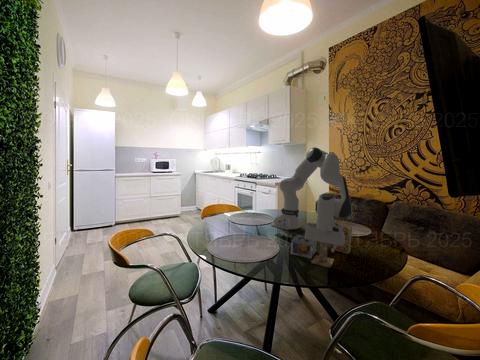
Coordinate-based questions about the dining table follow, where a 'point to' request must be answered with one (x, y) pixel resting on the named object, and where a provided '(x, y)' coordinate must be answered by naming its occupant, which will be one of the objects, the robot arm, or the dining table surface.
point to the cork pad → (327, 263)
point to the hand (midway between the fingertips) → (323, 249)
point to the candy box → (347, 245)
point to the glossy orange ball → (303, 247)
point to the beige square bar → (323, 251)
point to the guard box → (303, 241)
